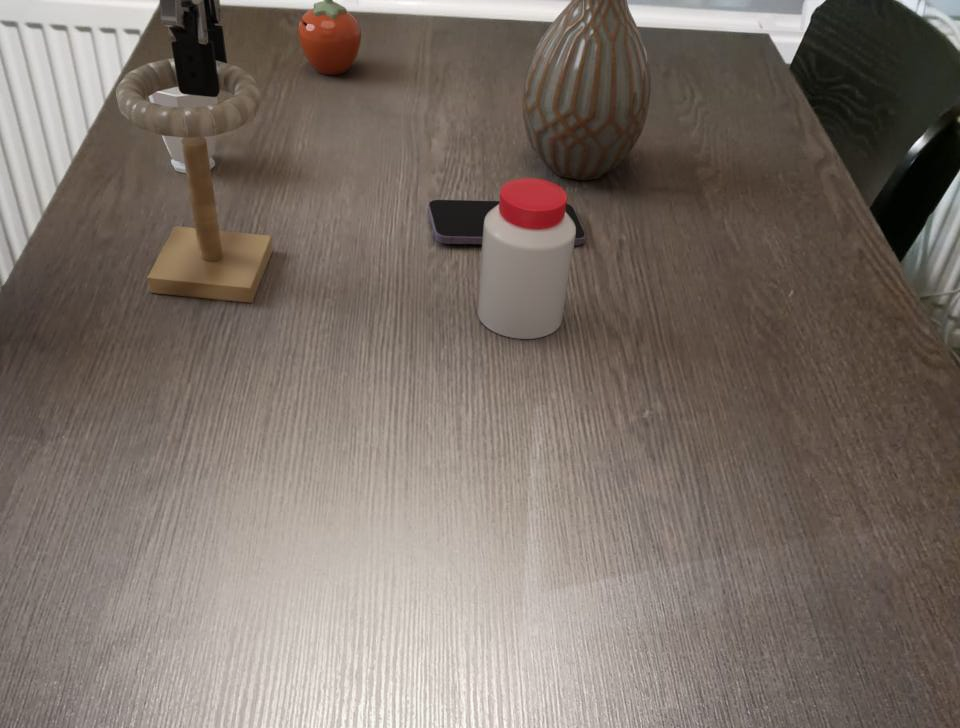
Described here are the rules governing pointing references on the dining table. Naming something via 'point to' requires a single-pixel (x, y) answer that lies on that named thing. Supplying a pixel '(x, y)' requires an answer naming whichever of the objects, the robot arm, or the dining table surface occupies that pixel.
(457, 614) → the dining table surface
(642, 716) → the dining table surface
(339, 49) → the tomato
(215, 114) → the ring
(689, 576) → the dining table surface
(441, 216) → the smartphone
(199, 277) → the post
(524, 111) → the vase
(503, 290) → the pill bottle
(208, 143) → the cup
